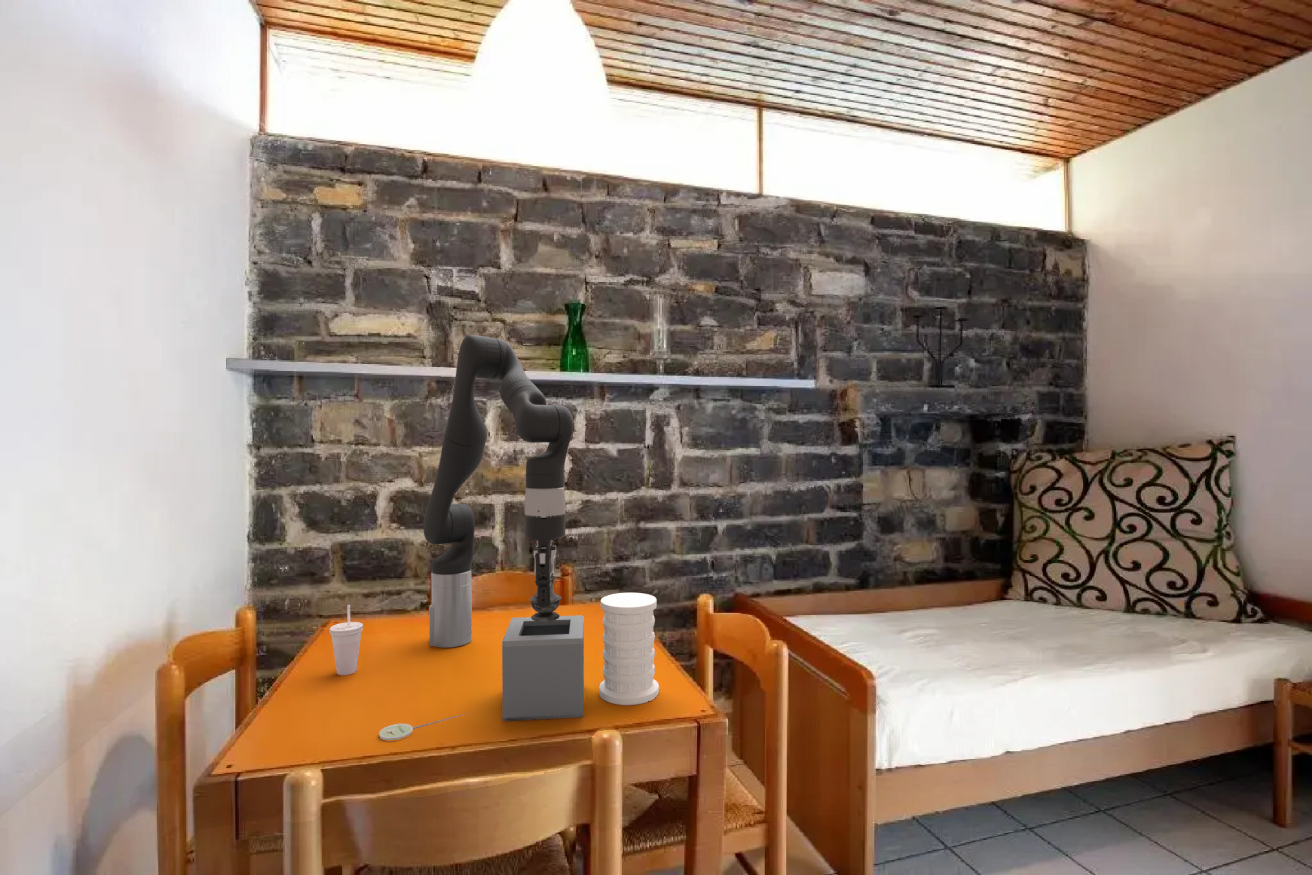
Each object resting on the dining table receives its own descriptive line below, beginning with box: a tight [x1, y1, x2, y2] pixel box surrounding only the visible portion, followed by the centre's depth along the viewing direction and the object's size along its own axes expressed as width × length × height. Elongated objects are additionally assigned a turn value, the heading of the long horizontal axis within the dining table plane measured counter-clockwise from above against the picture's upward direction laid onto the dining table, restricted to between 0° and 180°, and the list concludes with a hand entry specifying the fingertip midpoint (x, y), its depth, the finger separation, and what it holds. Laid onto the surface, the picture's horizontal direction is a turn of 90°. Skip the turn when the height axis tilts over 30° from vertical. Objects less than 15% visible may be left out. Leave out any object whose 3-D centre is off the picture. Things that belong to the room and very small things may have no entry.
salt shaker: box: [529, 565, 562, 621], centre depth 116 cm, size 6×6×12 cm
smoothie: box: [329, 604, 364, 676], centre depth 131 cm, size 6×6×14 cm
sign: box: [378, 712, 469, 741], centre depth 107 cm, size 5×1×15 cm
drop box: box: [501, 614, 585, 722], centre depth 116 cm, size 14×14×14 cm
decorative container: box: [598, 592, 660, 706], centre depth 121 cm, size 12×12×18 cm
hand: (545, 601), depth 116 cm, fingers closed on salt shaker, 5 cm apart
